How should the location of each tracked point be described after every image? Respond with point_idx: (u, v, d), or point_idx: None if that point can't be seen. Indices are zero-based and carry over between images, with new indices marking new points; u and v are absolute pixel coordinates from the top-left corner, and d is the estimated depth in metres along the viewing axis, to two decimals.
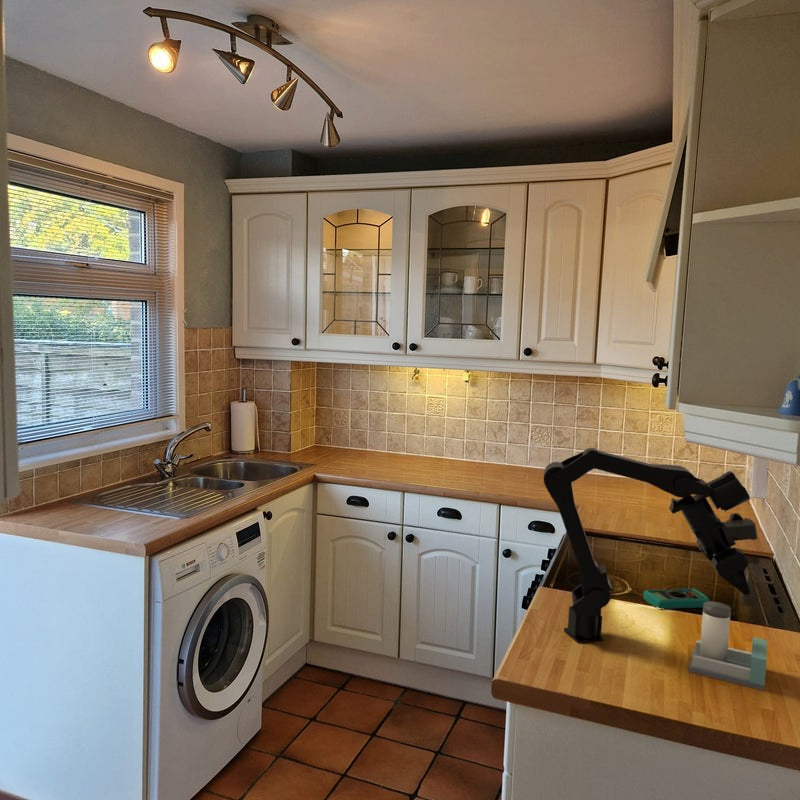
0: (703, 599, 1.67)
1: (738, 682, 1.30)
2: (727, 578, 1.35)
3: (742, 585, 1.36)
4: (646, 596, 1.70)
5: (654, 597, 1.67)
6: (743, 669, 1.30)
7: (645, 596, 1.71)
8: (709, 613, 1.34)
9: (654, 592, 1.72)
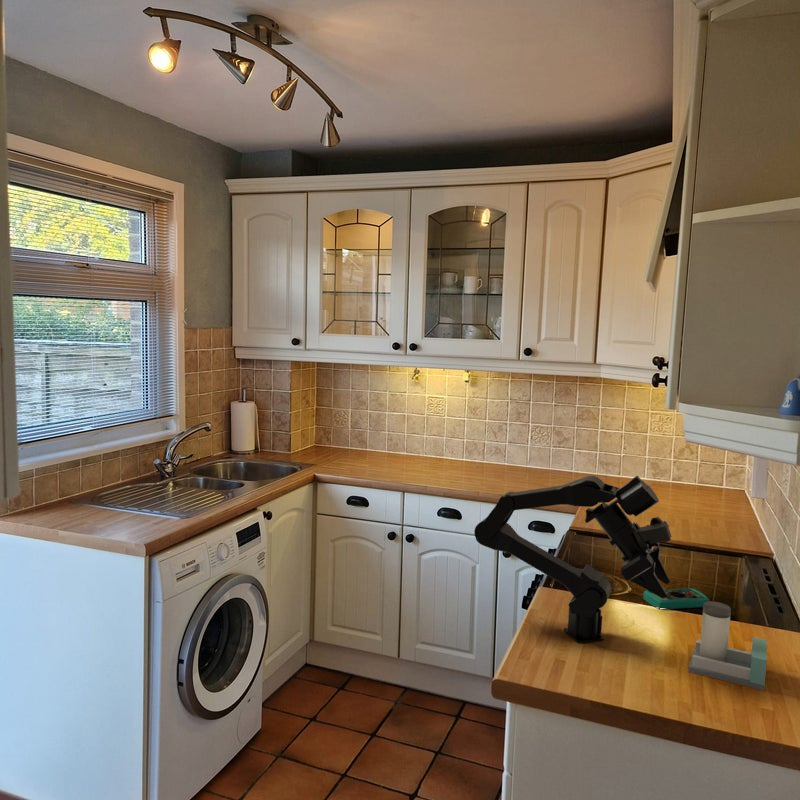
0: (703, 599, 1.68)
1: (738, 682, 1.30)
2: (639, 582, 1.37)
3: (656, 588, 1.36)
4: (646, 597, 1.70)
5: (655, 597, 1.67)
6: (743, 669, 1.30)
7: (645, 596, 1.70)
8: (709, 613, 1.34)
9: None
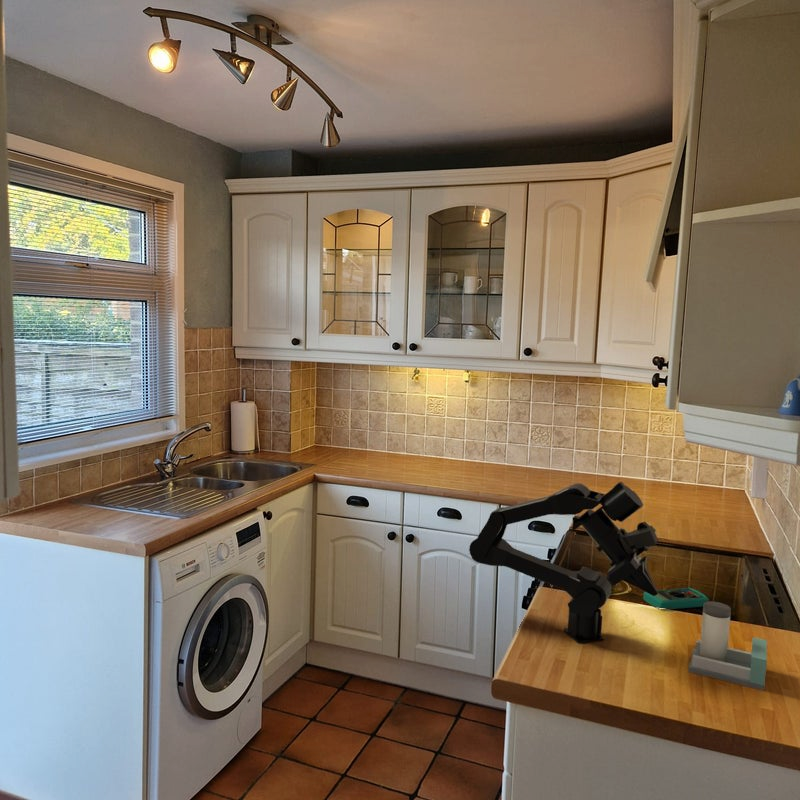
0: (702, 598, 1.68)
1: (738, 682, 1.30)
2: (629, 581, 1.41)
3: (647, 586, 1.41)
4: (646, 597, 1.70)
5: (655, 598, 1.67)
6: (743, 669, 1.30)
7: (645, 597, 1.70)
8: (709, 613, 1.34)
9: None
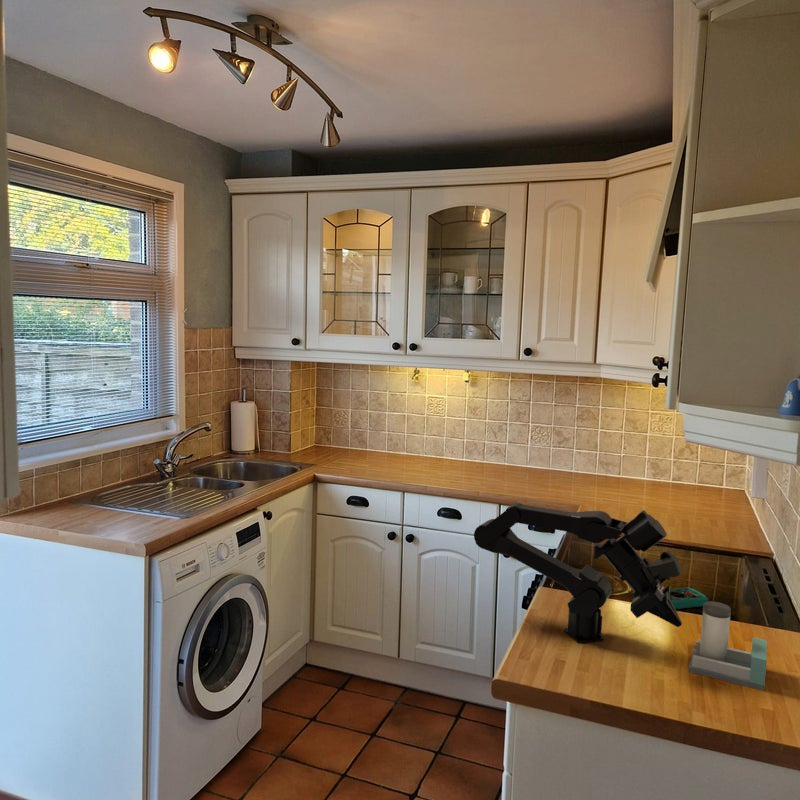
0: (702, 598, 1.68)
1: (738, 682, 1.30)
2: (653, 611, 1.39)
3: (670, 617, 1.39)
4: None
5: None
6: (743, 669, 1.30)
7: None
8: (709, 613, 1.34)
9: None
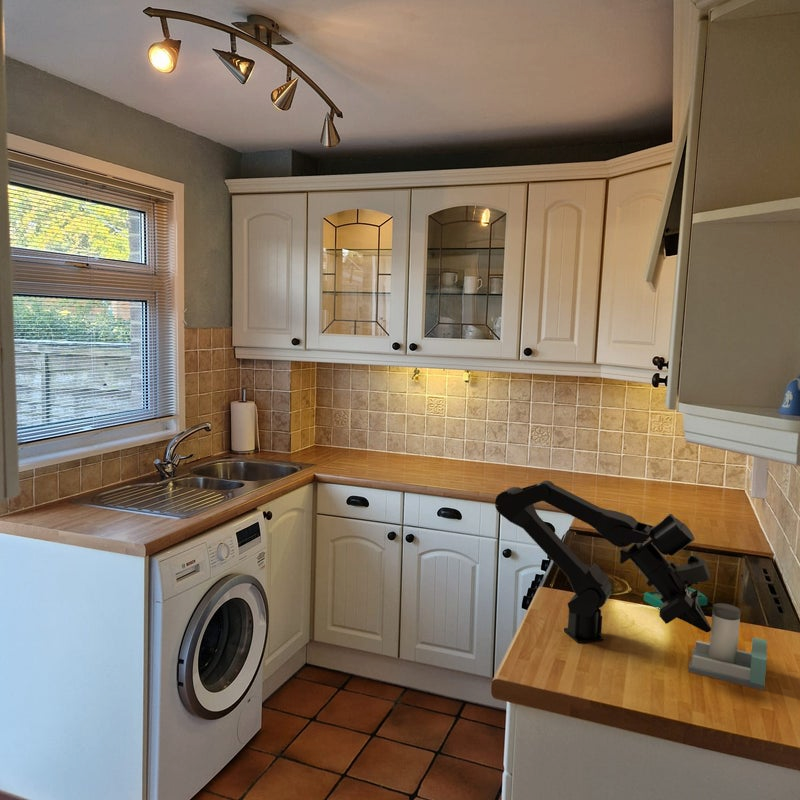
0: (702, 598, 1.68)
1: (738, 682, 1.30)
2: (681, 617, 1.37)
3: (699, 622, 1.36)
4: (647, 599, 1.69)
5: (657, 599, 1.66)
6: (743, 669, 1.30)
7: (646, 598, 1.69)
8: (718, 615, 1.33)
9: (654, 593, 1.71)
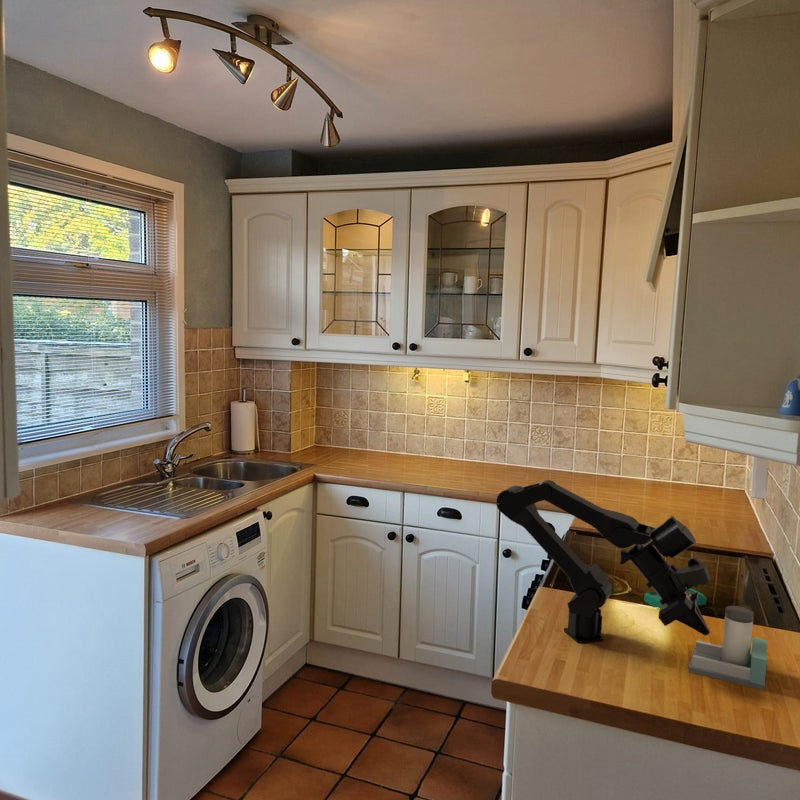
0: (701, 597, 1.69)
1: (738, 682, 1.30)
2: (680, 619, 1.37)
3: (698, 625, 1.36)
4: (648, 599, 1.68)
5: (659, 600, 1.66)
6: (743, 669, 1.30)
7: (647, 599, 1.69)
8: (731, 618, 1.32)
9: (654, 594, 1.70)
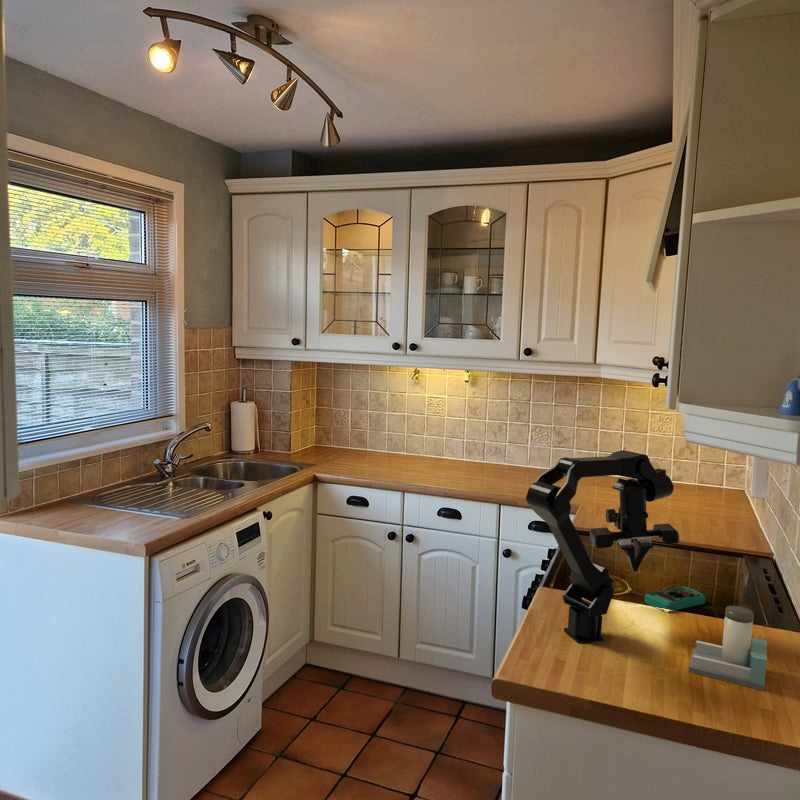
0: (700, 596, 1.69)
1: (738, 682, 1.30)
2: None
3: None
4: (649, 600, 1.68)
5: (660, 600, 1.65)
6: (743, 669, 1.30)
7: (648, 600, 1.68)
8: (731, 618, 1.32)
9: (654, 594, 1.70)
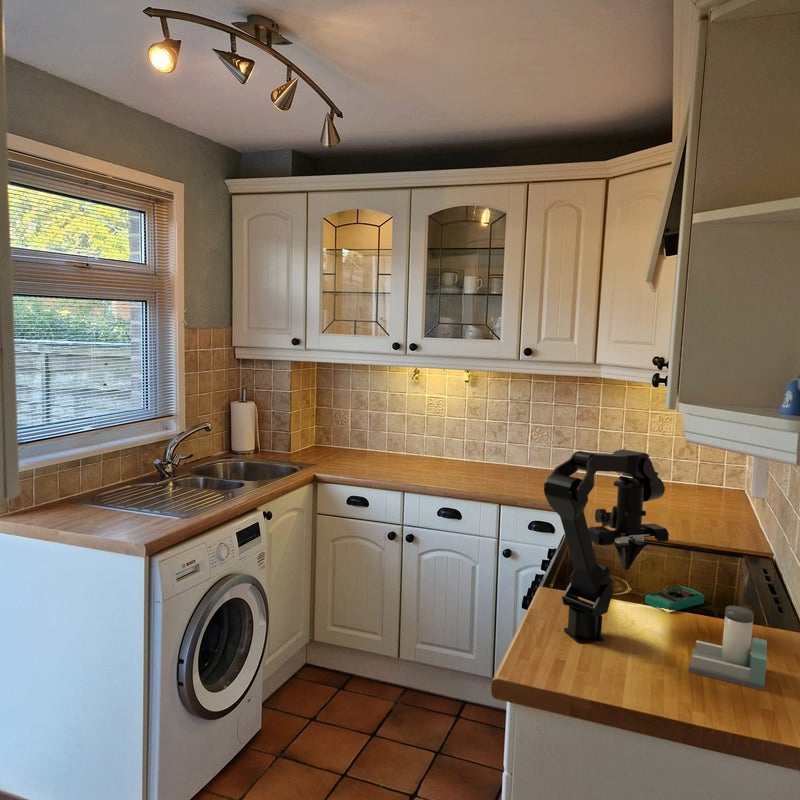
0: (700, 596, 1.69)
1: (738, 682, 1.30)
2: None
3: None
4: (650, 601, 1.67)
5: (662, 601, 1.65)
6: (743, 669, 1.30)
7: (648, 601, 1.68)
8: (731, 618, 1.32)
9: (654, 595, 1.70)
